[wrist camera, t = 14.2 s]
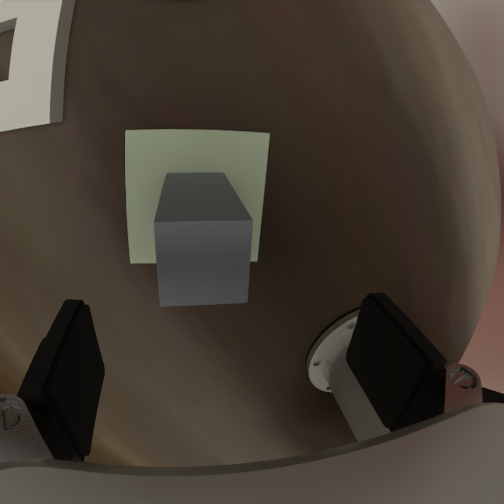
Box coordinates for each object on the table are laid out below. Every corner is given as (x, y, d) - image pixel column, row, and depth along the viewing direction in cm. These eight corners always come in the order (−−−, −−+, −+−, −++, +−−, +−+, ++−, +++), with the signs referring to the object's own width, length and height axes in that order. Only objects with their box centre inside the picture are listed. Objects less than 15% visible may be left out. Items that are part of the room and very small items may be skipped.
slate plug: (223, 172, 22) (253, 220, 13) (221, 225, 23) (247, 302, 15) (166, 173, 21) (153, 222, 12) (167, 226, 22) (160, 306, 14)
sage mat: (267, 132, 22) (269, 133, 21) (255, 258, 26) (257, 261, 25) (127, 129, 19) (125, 130, 19) (131, 259, 24) (130, 263, 23)
